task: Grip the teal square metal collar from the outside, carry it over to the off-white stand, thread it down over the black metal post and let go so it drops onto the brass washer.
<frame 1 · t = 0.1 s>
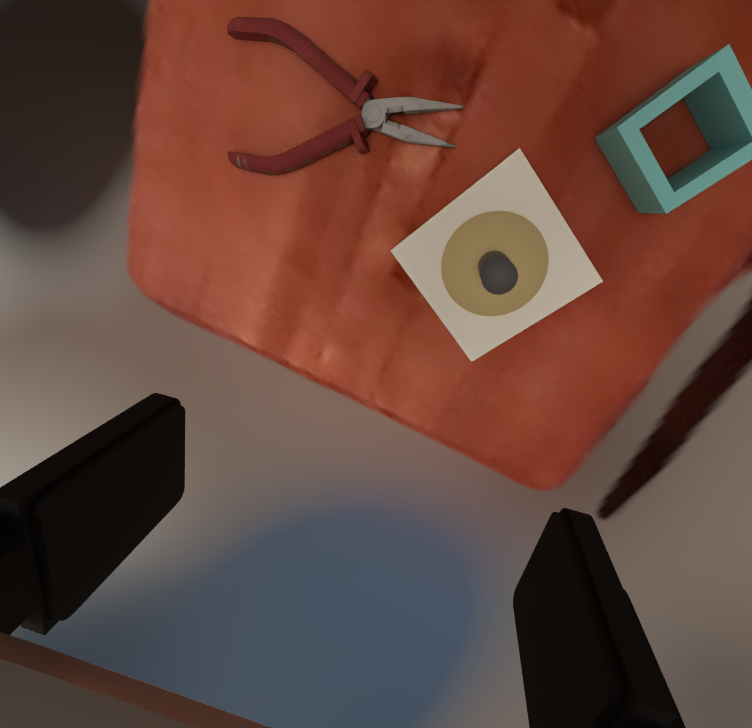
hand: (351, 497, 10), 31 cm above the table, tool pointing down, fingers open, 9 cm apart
post stand: (491, 263, 37), on the table
pliers: (330, 131, 36), on the table
collar: (661, 144, 31), on the table
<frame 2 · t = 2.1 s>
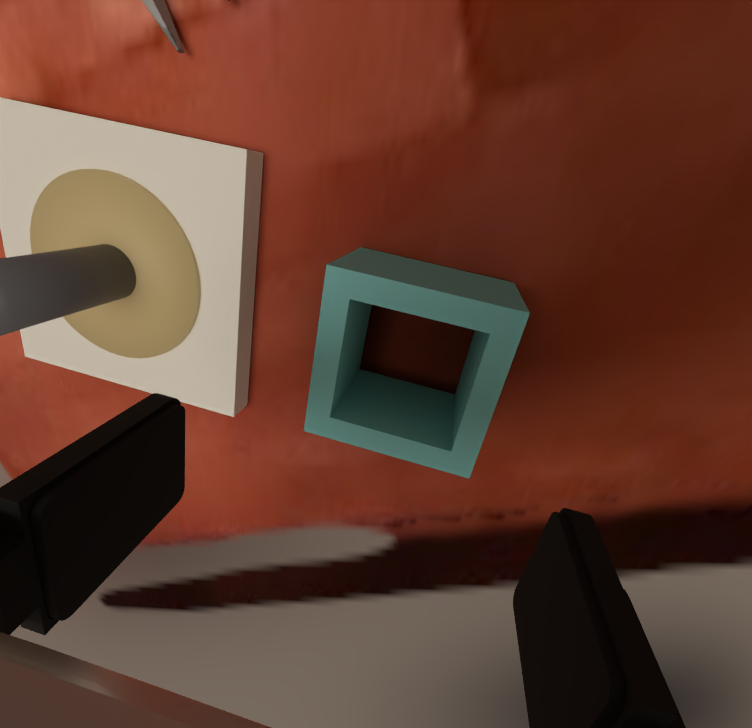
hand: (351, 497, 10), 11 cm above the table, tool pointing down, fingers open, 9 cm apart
post stand: (139, 265, 21), on the table
collar: (417, 336, 20), on the table
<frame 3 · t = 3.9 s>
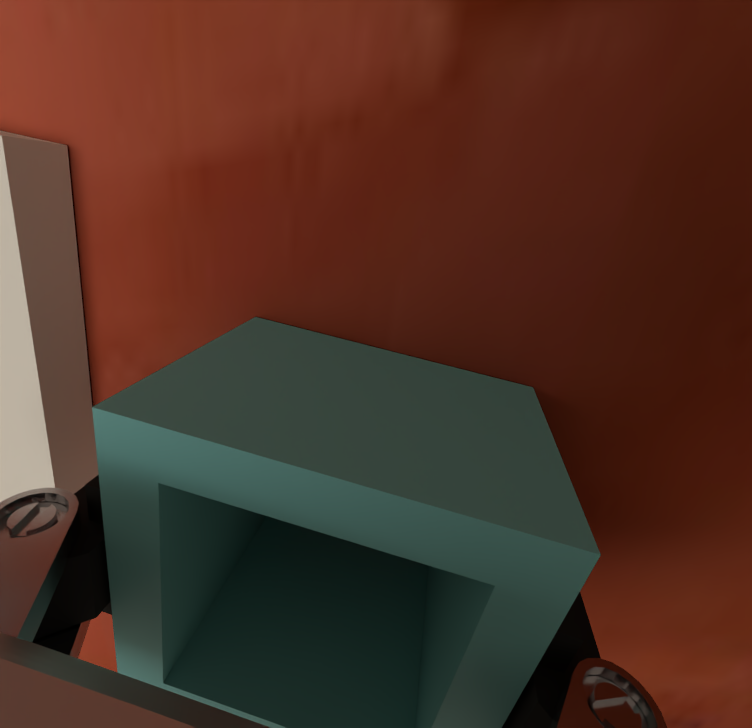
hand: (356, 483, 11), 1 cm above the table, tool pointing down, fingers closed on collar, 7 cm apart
collar: (363, 465, 11), on the table, touching gripper
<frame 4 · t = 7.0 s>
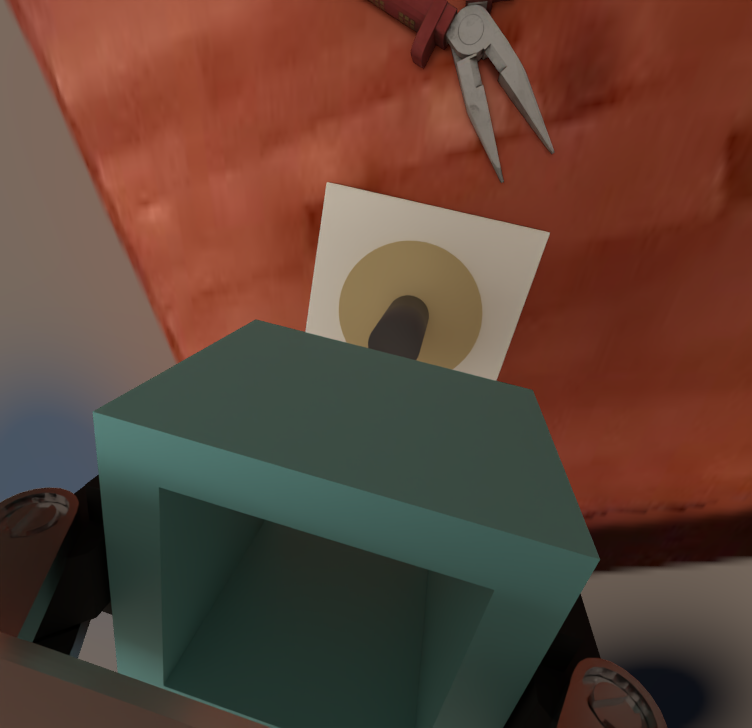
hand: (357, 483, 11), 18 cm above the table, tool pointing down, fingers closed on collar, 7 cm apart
post stand: (411, 309, 27), on the table
collar: (363, 467, 11), point 17 cm above the table, touching gripper
when the fingers open (7 cm above the table, at t = 10.1 s): collar drops 4 cm, resting on post stand.
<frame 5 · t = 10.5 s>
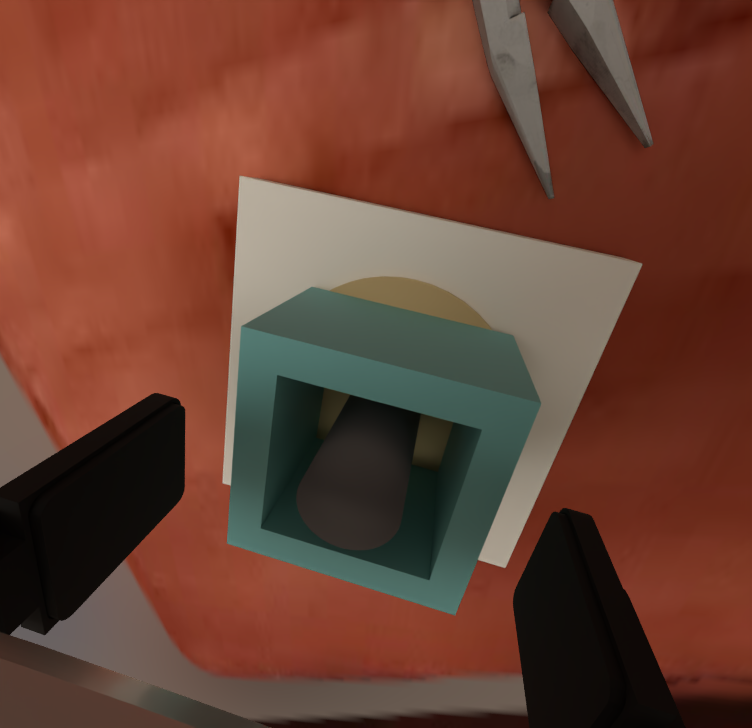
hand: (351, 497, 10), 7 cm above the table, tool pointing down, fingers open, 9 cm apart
post stand: (394, 380, 17), on the table
collar: (388, 399, 15), point 2 cm above the table, touching post stand
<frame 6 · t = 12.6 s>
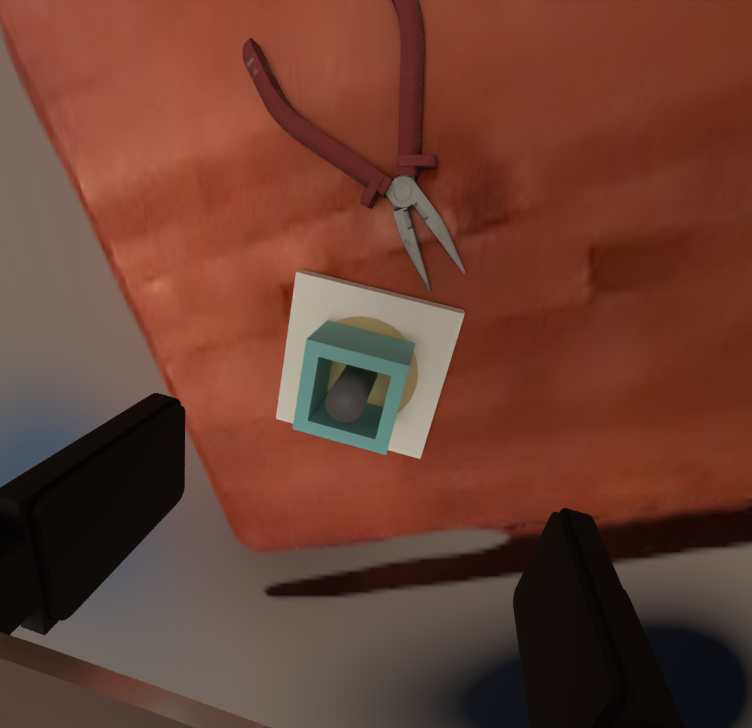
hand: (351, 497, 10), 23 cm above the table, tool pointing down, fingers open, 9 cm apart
post stand: (365, 364, 34), on the table
pliers: (361, 149, 29), on the table
collar: (361, 372, 32), point 2 cm above the table, touching post stand
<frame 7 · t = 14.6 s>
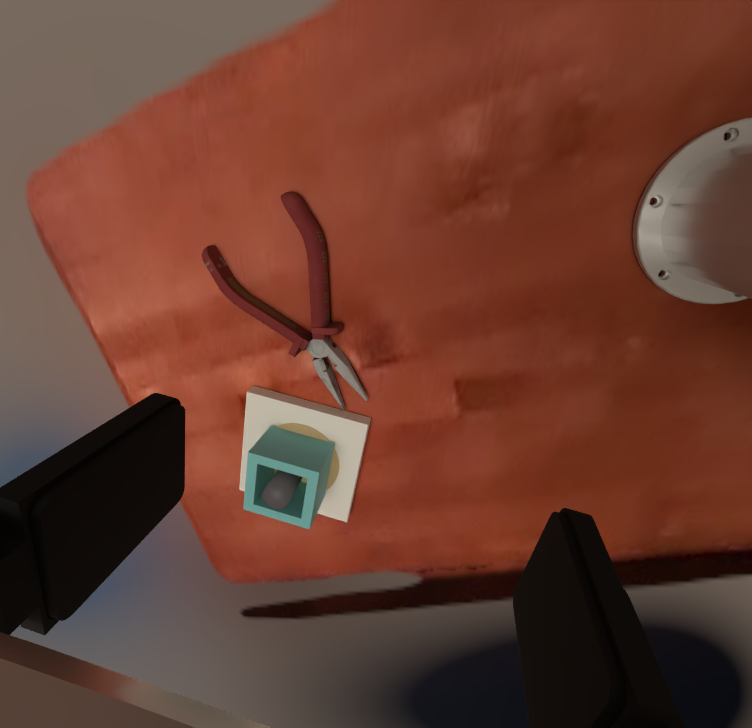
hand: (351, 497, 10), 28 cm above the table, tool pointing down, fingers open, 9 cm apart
post stand: (303, 452, 45), on the table
pliers: (291, 311, 40), on the table
collar: (298, 461, 43), point 2 cm above the table, touching post stand
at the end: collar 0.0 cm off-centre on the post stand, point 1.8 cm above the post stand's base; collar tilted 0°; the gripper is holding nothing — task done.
